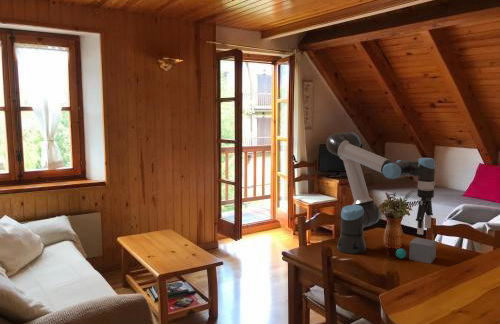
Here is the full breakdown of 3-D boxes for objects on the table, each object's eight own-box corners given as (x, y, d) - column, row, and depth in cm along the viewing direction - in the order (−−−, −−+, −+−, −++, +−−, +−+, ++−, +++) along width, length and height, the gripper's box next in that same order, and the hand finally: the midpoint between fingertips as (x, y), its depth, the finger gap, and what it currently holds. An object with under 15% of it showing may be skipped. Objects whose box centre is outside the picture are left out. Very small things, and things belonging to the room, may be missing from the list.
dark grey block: (409, 259, 211) (409, 242, 210) (415, 253, 219) (415, 237, 218) (430, 263, 205) (431, 246, 204) (435, 257, 213) (436, 241, 212)
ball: (394, 258, 212) (394, 249, 212) (397, 255, 216) (397, 246, 216) (404, 260, 209) (404, 251, 209) (407, 257, 213) (407, 248, 213)
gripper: (427, 194, 196) (425, 238, 198) (439, 186, 216) (438, 226, 218) (410, 192, 200) (408, 235, 203) (424, 184, 220) (422, 224, 223)
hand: (423, 230), depth 211 cm, fingers open, 13 cm apart
